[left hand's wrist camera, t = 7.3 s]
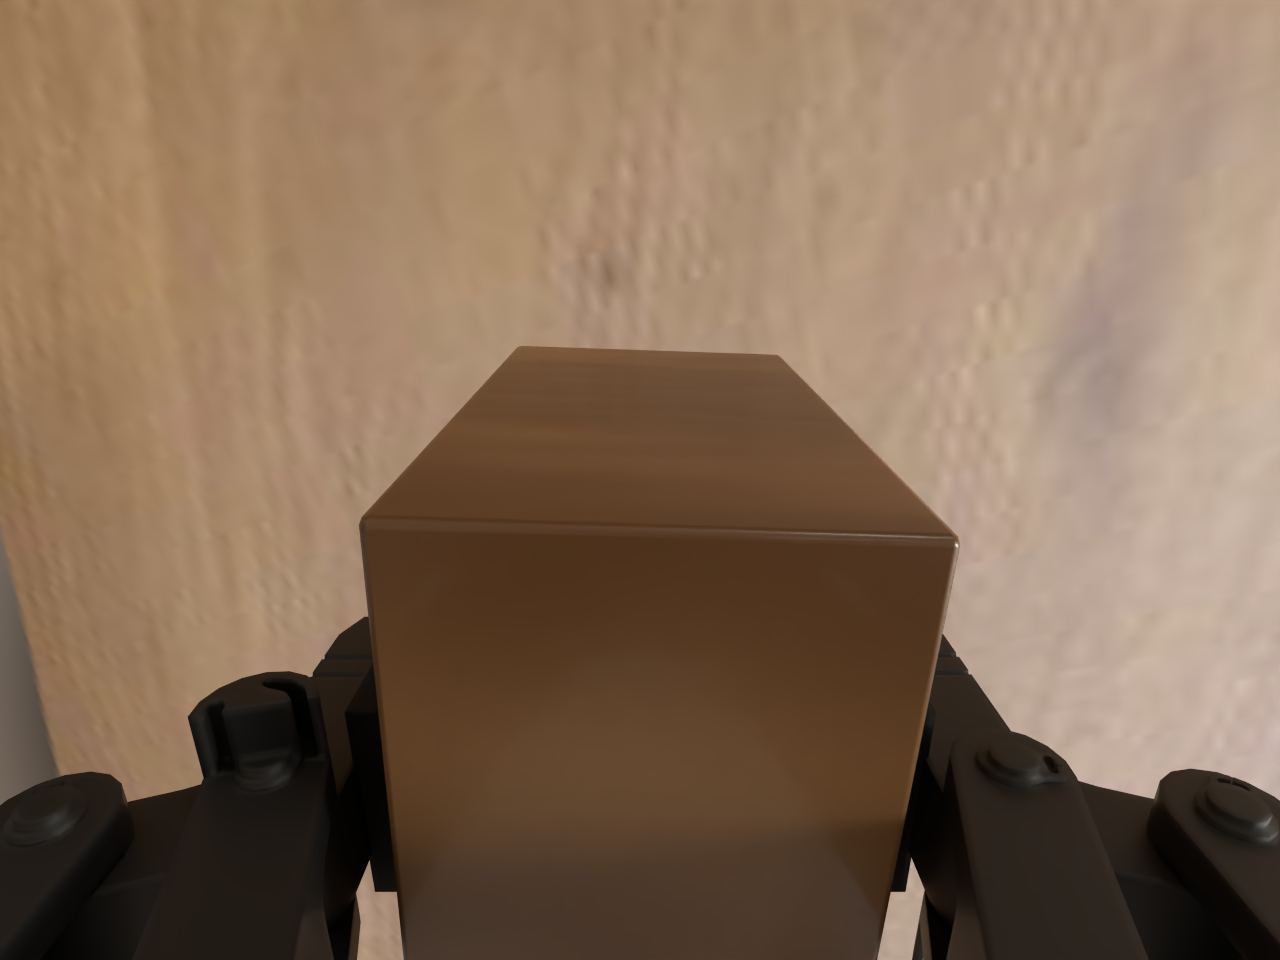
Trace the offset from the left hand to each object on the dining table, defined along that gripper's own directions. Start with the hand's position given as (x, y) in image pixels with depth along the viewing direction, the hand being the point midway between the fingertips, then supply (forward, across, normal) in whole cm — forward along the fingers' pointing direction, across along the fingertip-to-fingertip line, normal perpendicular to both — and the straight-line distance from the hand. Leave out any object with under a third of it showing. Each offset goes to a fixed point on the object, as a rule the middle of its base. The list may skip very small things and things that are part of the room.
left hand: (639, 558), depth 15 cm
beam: (0, -1, -22) cm, 22 cm away
